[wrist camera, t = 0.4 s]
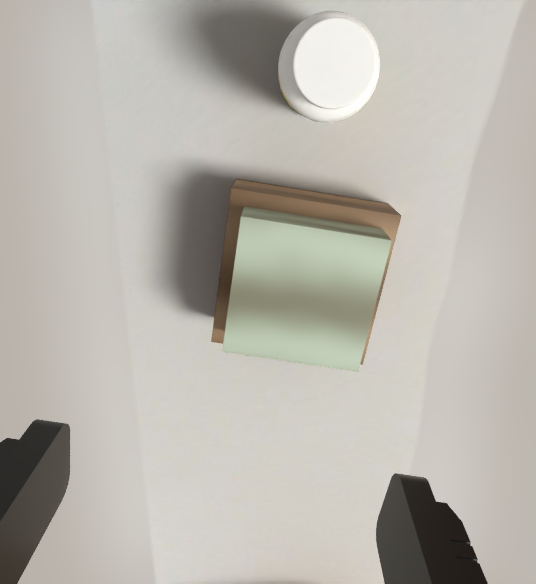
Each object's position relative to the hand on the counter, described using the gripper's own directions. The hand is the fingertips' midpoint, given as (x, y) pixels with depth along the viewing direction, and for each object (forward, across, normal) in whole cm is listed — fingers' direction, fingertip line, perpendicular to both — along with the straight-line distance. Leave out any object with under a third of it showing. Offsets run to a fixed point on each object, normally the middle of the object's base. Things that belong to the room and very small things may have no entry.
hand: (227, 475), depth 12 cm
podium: (+26, -3, +3) cm, 26 cm away
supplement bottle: (+26, -2, -10) cm, 28 cm away
